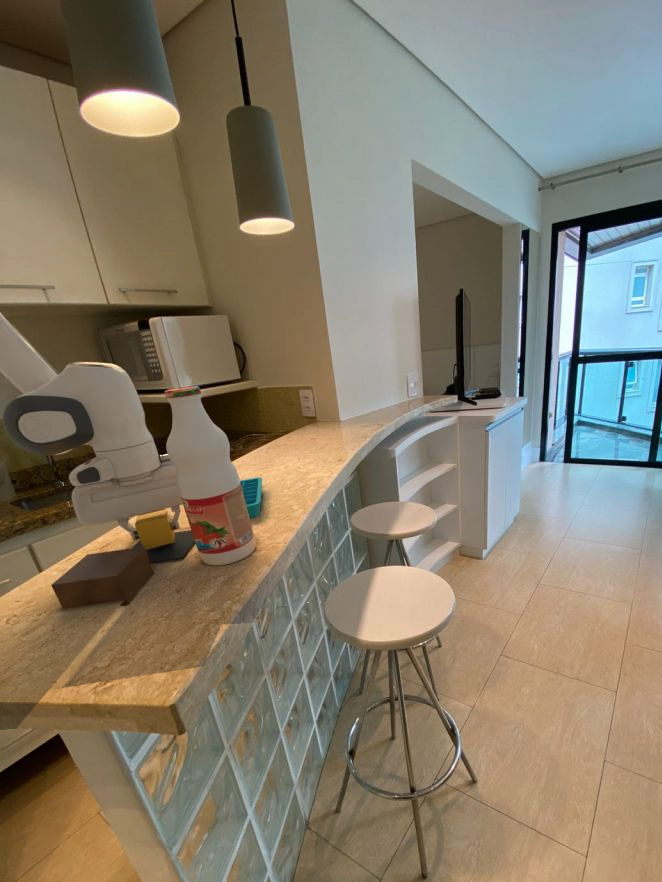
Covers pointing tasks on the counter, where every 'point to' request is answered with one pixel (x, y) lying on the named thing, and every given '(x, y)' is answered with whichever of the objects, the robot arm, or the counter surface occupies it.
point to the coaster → (171, 548)
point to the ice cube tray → (252, 495)
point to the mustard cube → (154, 529)
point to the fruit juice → (207, 481)
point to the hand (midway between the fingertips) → (157, 533)
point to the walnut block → (104, 578)
